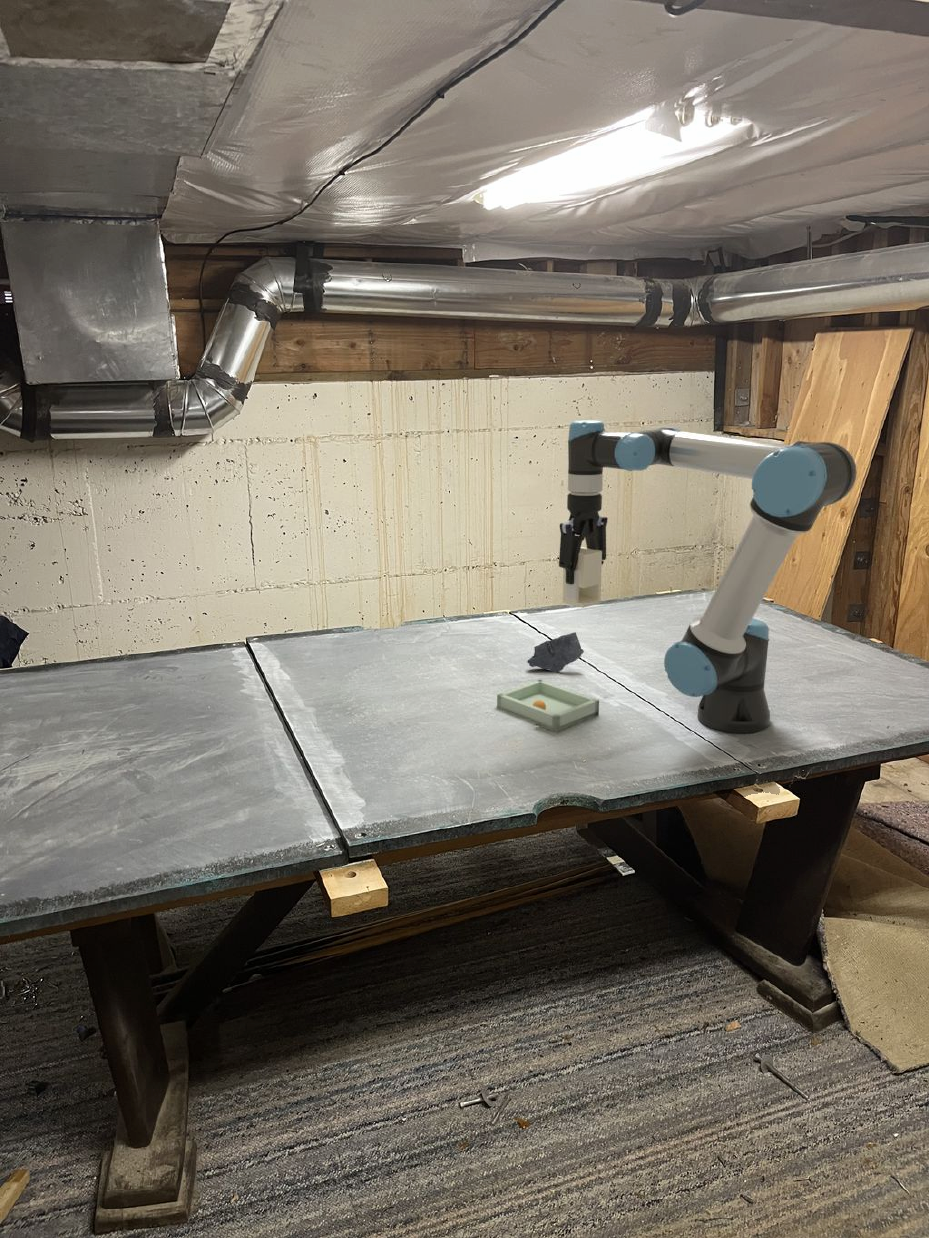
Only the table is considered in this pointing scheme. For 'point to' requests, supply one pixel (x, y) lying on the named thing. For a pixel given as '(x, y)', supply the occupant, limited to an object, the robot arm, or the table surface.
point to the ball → (540, 704)
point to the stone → (557, 653)
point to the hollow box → (586, 579)
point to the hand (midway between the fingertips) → (582, 594)
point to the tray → (549, 705)
